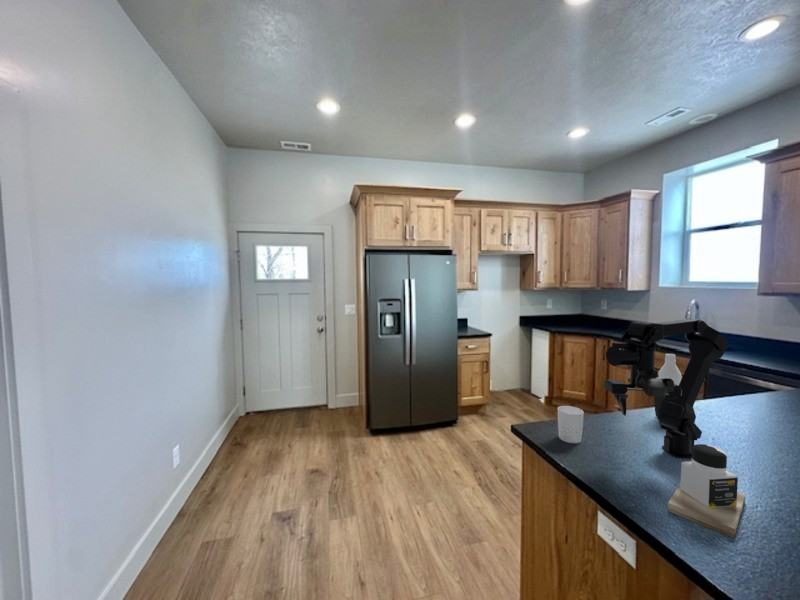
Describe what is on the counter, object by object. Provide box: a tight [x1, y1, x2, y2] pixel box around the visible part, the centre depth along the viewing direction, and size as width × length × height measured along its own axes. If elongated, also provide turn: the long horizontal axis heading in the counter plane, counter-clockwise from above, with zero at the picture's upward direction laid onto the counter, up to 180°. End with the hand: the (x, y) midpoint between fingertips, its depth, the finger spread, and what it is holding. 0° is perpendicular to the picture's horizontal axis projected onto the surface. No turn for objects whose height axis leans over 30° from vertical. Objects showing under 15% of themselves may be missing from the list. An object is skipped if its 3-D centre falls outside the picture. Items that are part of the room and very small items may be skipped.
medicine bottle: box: [680, 443, 739, 508], centre depth 79 cm, size 7×7×12 cm
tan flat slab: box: [667, 482, 746, 539], centre depth 80 cm, size 18×11×2 cm, turn 130°
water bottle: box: [657, 353, 683, 386], centre depth 132 cm, size 7×7×25 cm
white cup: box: [557, 405, 585, 444], centre depth 114 cm, size 8×8×10 cm
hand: (640, 415), depth 101 cm, fingers open, 9 cm apart
